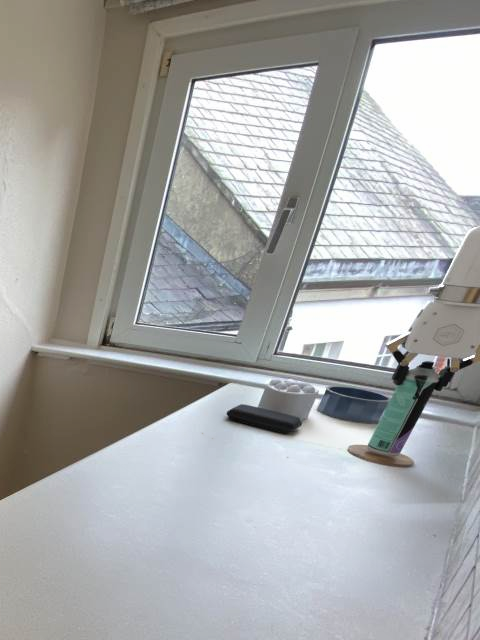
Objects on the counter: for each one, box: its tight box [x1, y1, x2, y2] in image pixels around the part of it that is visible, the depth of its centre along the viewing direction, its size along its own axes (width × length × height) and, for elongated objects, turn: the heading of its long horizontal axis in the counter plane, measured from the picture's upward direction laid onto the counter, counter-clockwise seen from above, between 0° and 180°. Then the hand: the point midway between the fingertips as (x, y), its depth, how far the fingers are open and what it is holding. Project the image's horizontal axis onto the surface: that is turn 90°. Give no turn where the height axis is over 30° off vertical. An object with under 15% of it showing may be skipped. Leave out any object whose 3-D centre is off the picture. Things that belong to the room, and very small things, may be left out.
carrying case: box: [226, 404, 303, 434], centre depth 138 cm, size 11×3×15 cm
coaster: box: [347, 444, 415, 468], centre depth 121 cm, size 11×11×1 cm
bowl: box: [316, 385, 392, 425], centre depth 147 cm, size 14×14×6 cm
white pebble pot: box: [257, 378, 320, 421], centre depth 144 cm, size 10×13×9 cm
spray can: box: [366, 360, 440, 456], centre depth 116 cm, size 6×6×20 cm
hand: (416, 385), depth 114 cm, fingers closed on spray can, 5 cm apart
